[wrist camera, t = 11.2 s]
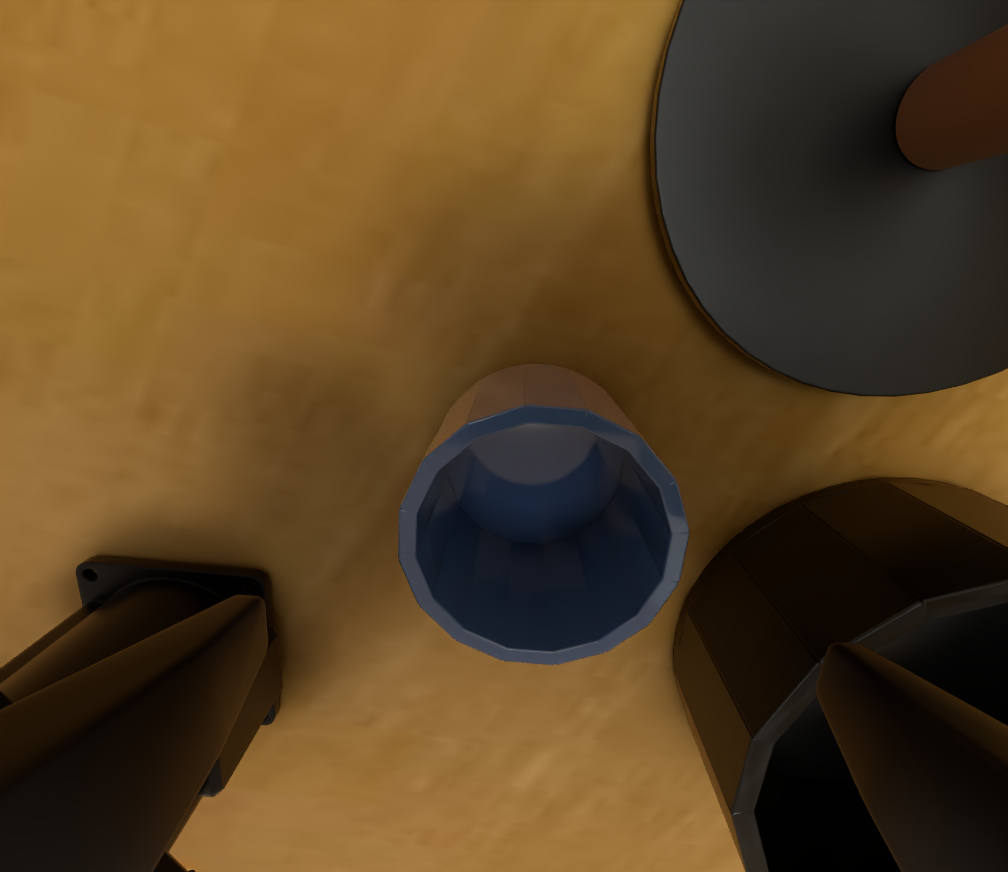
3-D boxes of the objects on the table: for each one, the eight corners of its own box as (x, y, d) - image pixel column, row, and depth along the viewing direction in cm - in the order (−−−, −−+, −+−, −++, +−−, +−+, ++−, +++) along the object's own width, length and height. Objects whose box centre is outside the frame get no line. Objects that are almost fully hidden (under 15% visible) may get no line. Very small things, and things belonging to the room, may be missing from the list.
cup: (434, 537, 17) (396, 653, 12) (441, 355, 15) (400, 394, 10) (617, 552, 17) (660, 675, 12) (646, 371, 15) (713, 419, 10)
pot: (972, 793, 20) (1139, 981, 14) (647, 766, 20) (693, 943, 14) (1115, 494, 16) (1414, 600, 10) (711, 461, 16) (806, 550, 11)
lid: (1068, 406, 15) (1296, 458, 11) (610, 370, 15) (648, 407, 11) (1328, -207, 11) (1876, -537, 6) (696, -251, 11) (814, -606, 7)
